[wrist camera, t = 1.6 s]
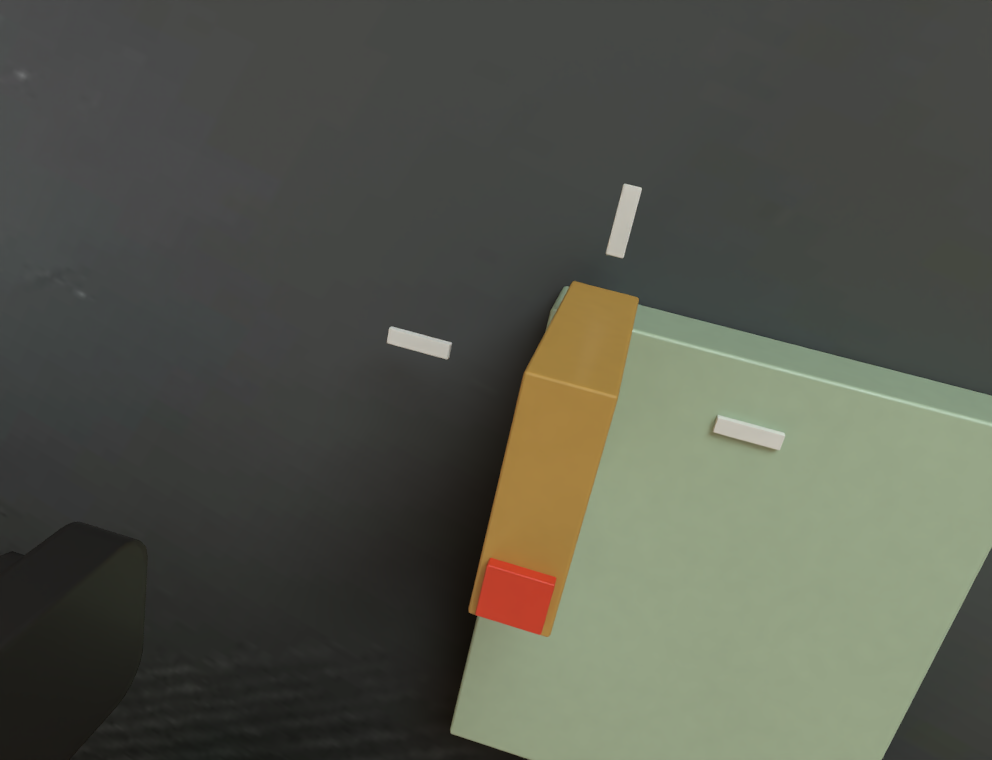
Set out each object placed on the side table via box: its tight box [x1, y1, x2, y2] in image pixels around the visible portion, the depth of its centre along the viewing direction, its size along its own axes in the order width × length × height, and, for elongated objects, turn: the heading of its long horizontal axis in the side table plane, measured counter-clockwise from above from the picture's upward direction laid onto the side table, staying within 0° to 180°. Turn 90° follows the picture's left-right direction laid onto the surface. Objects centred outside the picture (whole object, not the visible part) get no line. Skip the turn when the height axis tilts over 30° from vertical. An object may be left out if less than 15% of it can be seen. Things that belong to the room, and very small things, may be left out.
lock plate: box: [387, 184, 992, 760], centre depth 20 cm, size 15×13×2 cm
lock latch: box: [468, 281, 639, 637], centre depth 15 cm, size 4×1×6 cm, turn 168°
